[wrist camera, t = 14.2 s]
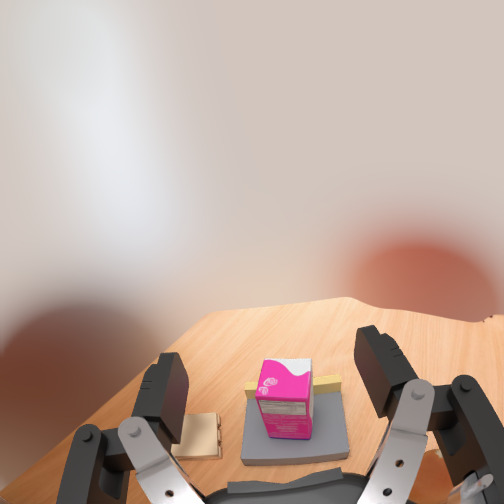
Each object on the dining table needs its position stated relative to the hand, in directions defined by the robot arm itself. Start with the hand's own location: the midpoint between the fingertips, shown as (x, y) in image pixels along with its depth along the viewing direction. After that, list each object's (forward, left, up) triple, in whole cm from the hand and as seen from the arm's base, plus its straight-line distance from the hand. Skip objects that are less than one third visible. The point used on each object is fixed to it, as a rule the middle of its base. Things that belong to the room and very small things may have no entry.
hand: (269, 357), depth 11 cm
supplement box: (0, +11, -27) cm, 29 cm away
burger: (+18, -3, -30) cm, 35 cm away
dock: (0, +11, -29) cm, 31 cm away
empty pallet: (-16, +9, -30) cm, 35 cm away
